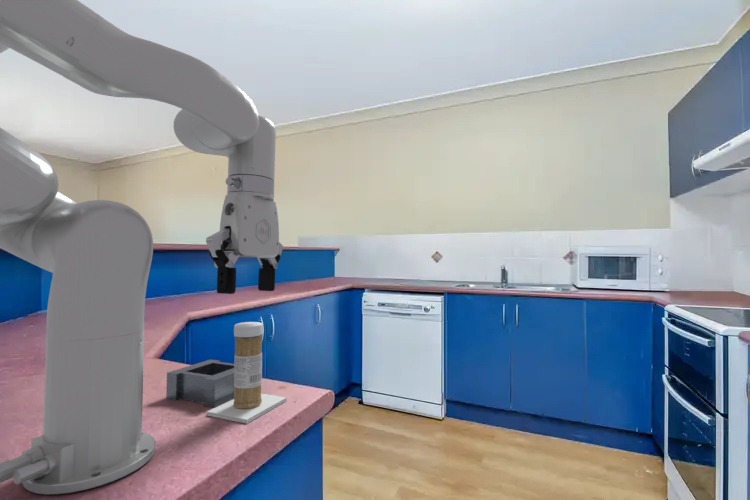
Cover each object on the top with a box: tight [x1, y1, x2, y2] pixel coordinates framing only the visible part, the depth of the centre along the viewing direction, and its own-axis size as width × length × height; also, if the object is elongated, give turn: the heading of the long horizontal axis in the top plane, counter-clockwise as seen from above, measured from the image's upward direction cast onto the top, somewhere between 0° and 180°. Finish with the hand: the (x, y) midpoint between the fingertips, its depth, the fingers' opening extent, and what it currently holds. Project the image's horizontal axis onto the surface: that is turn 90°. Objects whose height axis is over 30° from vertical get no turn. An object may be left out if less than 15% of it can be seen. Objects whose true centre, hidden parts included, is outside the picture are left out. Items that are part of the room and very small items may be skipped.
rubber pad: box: [206, 393, 287, 424], centre depth 62 cm, size 10×8×1 cm
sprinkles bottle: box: [233, 321, 264, 409], centre depth 62 cm, size 5×5×13 cm
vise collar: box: [166, 358, 234, 408], centre depth 69 cm, size 10×11×4 cm
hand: (247, 291), depth 63 cm, fingers open, 9 cm apart
